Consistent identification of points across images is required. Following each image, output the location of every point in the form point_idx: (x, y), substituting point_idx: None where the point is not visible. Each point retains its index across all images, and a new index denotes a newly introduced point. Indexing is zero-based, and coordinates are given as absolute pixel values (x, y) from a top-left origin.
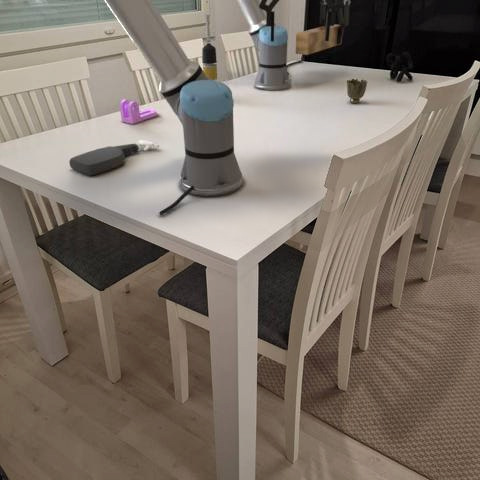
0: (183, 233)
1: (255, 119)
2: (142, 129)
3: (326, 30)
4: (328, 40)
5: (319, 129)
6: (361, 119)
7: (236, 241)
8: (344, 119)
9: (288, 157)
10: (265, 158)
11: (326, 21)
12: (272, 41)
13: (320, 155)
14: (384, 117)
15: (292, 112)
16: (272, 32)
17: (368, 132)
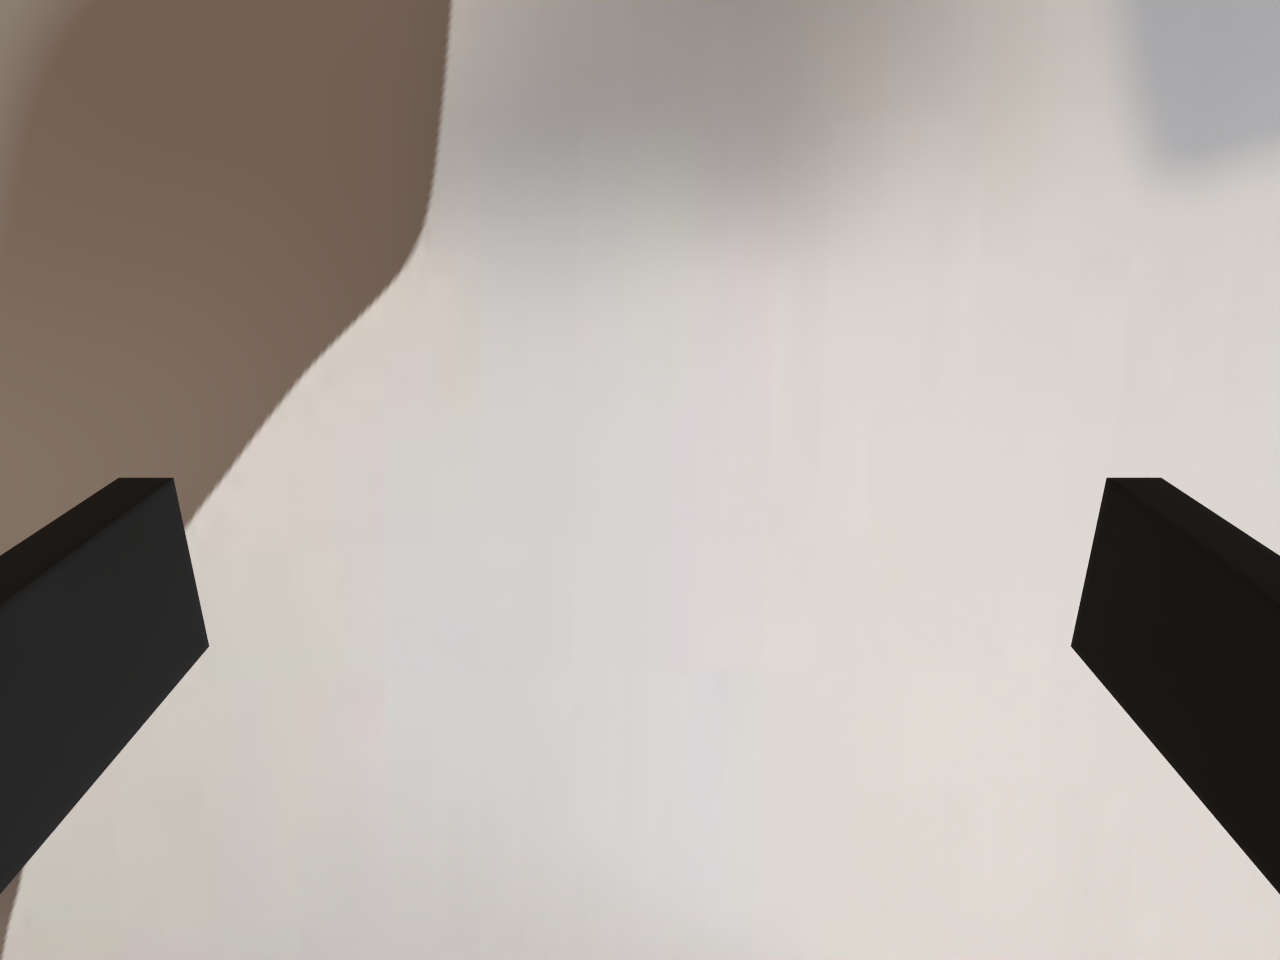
0: None
1: (854, 803)
2: None
3: (69, 570)
4: (117, 483)
5: (481, 655)
6: (240, 816)
7: None
8: (337, 814)
9: (675, 175)
10: (822, 151)
11: (5, 815)
12: (1128, 481)
13: (475, 219)
14: (111, 849)
15: (635, 914)
16: (1225, 546)
17: None
